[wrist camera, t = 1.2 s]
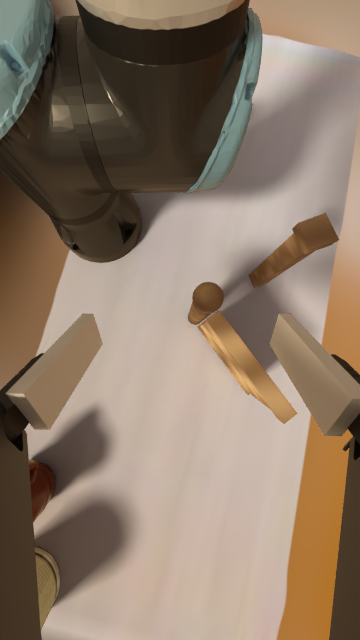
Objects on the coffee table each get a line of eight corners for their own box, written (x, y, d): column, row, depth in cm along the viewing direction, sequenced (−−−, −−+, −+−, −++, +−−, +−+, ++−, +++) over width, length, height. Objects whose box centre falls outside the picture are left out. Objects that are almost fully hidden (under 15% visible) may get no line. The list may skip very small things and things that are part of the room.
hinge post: (184, 311, 33) (189, 282, 16) (200, 307, 33) (221, 273, 16) (189, 327, 33) (199, 314, 16) (205, 323, 33) (231, 305, 16)
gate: (197, 326, 32) (206, 319, 20) (205, 320, 32) (219, 310, 20) (245, 393, 30) (284, 424, 19) (254, 386, 30) (297, 413, 19)
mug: (46, 521, 30) (-24, 616, 19) (0, 497, 30) (-93, 577, 20) (81, 449, 31) (32, 503, 21) (36, 426, 31) (-34, 468, 21)
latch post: (246, 274, 34) (298, 223, 19) (262, 268, 34) (325, 213, 19) (253, 289, 34) (311, 250, 19) (269, 284, 34) (339, 239, 19)
